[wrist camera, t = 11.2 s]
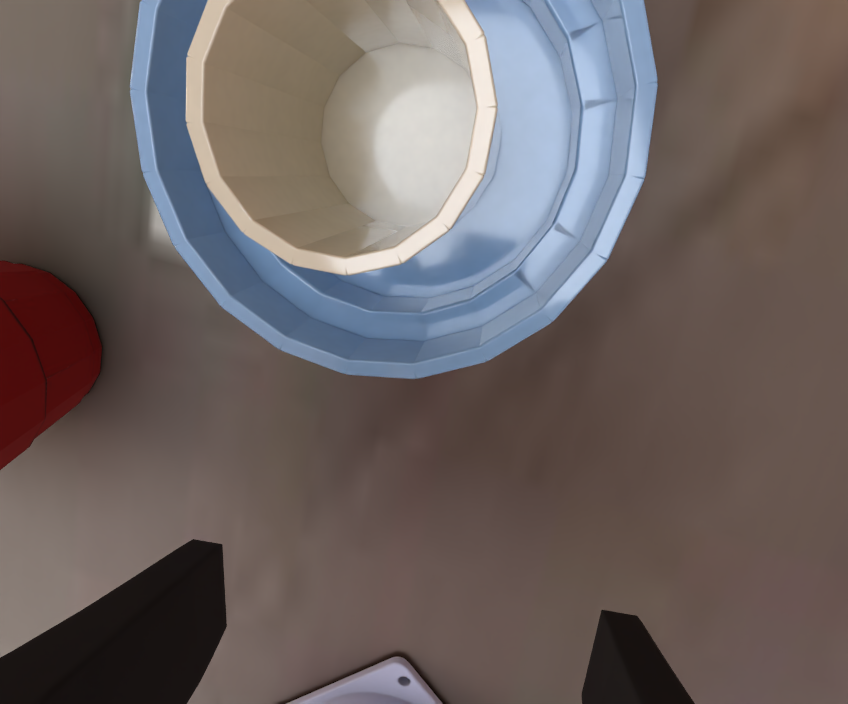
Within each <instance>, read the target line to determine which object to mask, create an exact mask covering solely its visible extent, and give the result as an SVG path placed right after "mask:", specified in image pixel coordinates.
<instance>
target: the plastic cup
mask: <svg viewBox="0 0 848 704" xmlns="http://www.w3.org/2000/svg"><path fill="white" fill-rule="evenodd" d="M101 351H102V345H101V342H100V339H99V336H98V332H97V329H96V326H95V323H94V319H93V317H92V316H91V314H90V313H89V312H88V310H87V309H86V307H85V306H84V304H83V303H82V302H81V300H80V299H79V297H78V296H77V294H76V293H75V292H74V291H73V290H71V289H70V288H69V287H68V286H66V285H65V284H64V283H62V282H61V281H60V280H58V279H57V278H56V277H55V276H53V275H52V274H51V273H49V272H46V271H43V270H40V269H37V268H34V267H30V266H27V265H24V264H13V263H10V262H7V261H0V470H1V469H2V468H3V467H5V466H6V465H7V464H8V463H10V462H11V461H12V460H13V459H15V458H16V457H17V456H18V455H20V454H21V453H22V452H23V451H25V450H26V449H27V448H28V447H30V446H31V444H32V442H33V440H34V439H35V438H36V437H37V436H39V435H40V434H41V433H42V432H44V431H45V430H46V429H47V428H49V427H50V426H51V425H52V424H54V423H55V422H56V421H57V420H59V419H60V418H61V417H63V416H64V415H65V414H66V413H68V412H69V411H70V410H71V409H73V408H74V407H75V406H76V405H78V404H79V403H80V401H81V399H82V398H83V396H84V395H86V394H87V393H88V392H89V390H90V389H91V387H92V385H93V384H94V382H95V380H96V378H97V377H98V375H99V373H100V365H101Z"/></svg>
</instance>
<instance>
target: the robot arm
mask: <svg viewBox="0 0 848 704" xmlns="http://www.w3.org/2000/svg"><path fill="white" fill-rule="evenodd" d="M226 627H227V624H226V605H225V587H224V568H223V549H222V544H217V543H212V542H206V541H200V540H194V539H193V540H191V541H189V542H188V543H186V544H184V545H183V546H181V547H180V548H178V549H176V550H175V551H173V552H172V553H170V554H169V555H167V556H166V557H164V558H162V559H161V560H159V561H158V562H156V563H155V564H153V565H152V566H150V567H149V568H147V569H146V570H144V571H142V572H141V573H139V574H138V575H136V576H135V577H133V578H132V579H130V580H129V581H127V582H125V583H124V584H122V585H121V586H119V587H118V588H116V589H114V590H113V591H111V592H110V593H108V594H107V595H105V596H103V597H102V598H100V599H99V600H97V601H96V602H94V603H92V604H91V605H89V606H88V607H86V608H85V609H83V610H81V611H80V612H78V613H76V614H75V615H73V616H71V617H70V618H68V619H66V620H64V621H63V622H61V623H59V624H58V625H56V626H54V627H53V628H51V629H49V630H47V631H46V632H44V633H42V634H41V635H39V636H37V637H36V638H34V639H32V640H30V641H29V642H27V643H25V644H24V645H22V646H20V647H19V648H17V649H15V650H13V651H12V652H10V653H8V654H6V655H4V656H3V657H1V658H0V704H187V702H188V701H189V699H190V697H191V696H192V694H193V692H194V691H195V689H196V687H197V686H198V684H199V682H200V681H201V679H202V677H203V675H204V673H205V671H206V669H207V667H208V665H209V663H210V661H211V659H212V657H213V655H214V652H215V650H216V648H217V646H218V644H219V642H220V640H221V637H222V635H223V633H224V631H225V629H226ZM403 676H404V677H403ZM405 677H407V678H405ZM286 704H443V703H442V702H441V701H440V700H439V698H438V697H437V696H436V695H435V694H434V692H433V691H432V690H431V689H430V687H429V686H428V685H427V684H426V683H425V681H424V680H423V679H422V678H421V677H420V675H419V674H418V673H417V672H416V671H415V669H414V668H413V667H412V666H411V665H410V663H409V662H408V661H407V660H406V659H404V658H402V657H392V658H390V659H387V660H385V661H383V662H381V663H378V664H376V665H374V666H371V667H369V668H367V669H365V670H362V671H360V672H358V673H355V674H353V675H351V676H348V677H346V678H344V679H342V680H339V681H337V682H335V683H332V684H330V685H328V686H325V687H323V688H321V689H319V690H316V691H314V692H312V693H309V694H307V695H305V696H302V697H300V698H298V699H296V700H293V701H291V702H289V703H286ZM582 704H695V703H694V702H693V700H692V699H691V697H690V696H689V695H688V693H687V692H686V690H685V688H684V687H683V685H682V684H681V682H680V681H679V679H678V678H677V676H676V675H675V673H674V672H673V670H672V669H671V667H670V666H669V664H668V663H667V661H666V659H665V658H664V656H663V655H662V653H661V652H660V650H659V648H658V647H657V645H656V644H655V642H654V641H653V639H652V637H651V636H650V634H649V633H648V631H647V630H646V628H645V626H644V625H643V623H642V622H641V621H640V619H639V618H638V617H637V616H635V615H629V614H623V613H617V612H612V611H606V610H602V611H601V615H600V619H599V623H598V628H597V632H596V636H595V640H594V644H593V649H592V653H591V657H590V661H589V665H588V670H587V674H586V678H585V682H584V686H583V691H582Z"/></svg>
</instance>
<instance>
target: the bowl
mask: <svg viewBox="0 0 848 704" xmlns="http://www.w3.org/2000/svg"><path fill="white" fill-rule="evenodd" d="M207 1H208V0H142V1H140V5H139V14H138V22H137V30H136V39H135V47H134V56H133V64H132V72H131V81H130V88H131V90H130V95H131V102H132V109H133V115H134V122H135V129H136V135H137V142H138V149H139V155H140V162H141V169H142V172H143V176H144V178H145V181H146V183H147V185H148V188H149V190H150V192H151V195H152V197H153V199H154V202H155V204H156V206H157V209H158V211H159V213H160V216H161V218H162V220H163V223H164V225H165V227H166V230H167V232H168V234H169V237H170V239H171V241H172V244H173V245H174V246H175V249H176V250H177V251H178V253H179V254H180V255H181V257H182V258H183V259H184V260H185V262H186V263H187V264H188V265H189V267H190V268H191V269H192V271H193V272H194V273H195V274H196V276H197V277H198V278H199V279H200V281H201V282H202V283H203V285H204V286H205V287H206V288H207V290H208V291H209V292H210V293H211V295H212V296H213V297H214V299H215V300H216V301H217V302H218V304H219V305H220V306H222V308H223V309H225V310H226V311H227V312H229V313H230V314H231V315H233V316H234V317H236V318H237V319H238V320H240V321H241V322H242V323H244V324H245V325H246V326H248V327H249V328H250V329H252V330H253V331H254V332H256V333H257V334H258V335H260V336H261V337H263V338H264V339H265V340H267V341H268V342H269V343H271V344H272V345H273V346H275V347H276V348H277V349H280V350H281V351H283V352H286V353H289V354H292V355H294V356H297V357H300V358H302V359H305V360H308V361H310V362H313V363H316V364H318V365H321V366H324V367H326V368H329V369H332V370H334V371H337V372H340V373H343V374H347V375H358V376H374V377H390V378H406V379H416V378H417V379H419V378H423V377H427V376H431V375H436V374H440V373H444V372H448V371H452V370H456V369H460V368H464V367H468V366H473V365H477V364H481V363H485V362H486V361H489V360H491V359H493V358H494V357H496V356H498V355H499V354H501V353H503V352H504V351H506V350H508V349H509V348H511V347H513V346H514V345H516V344H518V343H519V342H521V341H523V340H524V339H526V338H528V337H529V336H531V335H533V334H534V333H536V332H537V331H539V330H541V329H542V328H544V327H546V326H547V325H549V324H551V322H553V321H554V320H555V319H556V318H557V317H558V316H559V315H560V314H561V312H562V311H563V310H564V309H565V308H566V307H567V306H568V305H569V303H570V302H571V301H572V300H573V299H574V298H575V297H576V296H577V295H578V293H579V292H580V291H581V290H582V289H583V288H584V287H585V286H586V284H587V283H588V282H589V281H590V280H591V279H592V278H593V277H594V275H595V274H596V273H597V272H598V271H599V270H600V269H601V268H602V266H603V265H604V264H605V263H606V261H607V259H608V258H609V257H610V254H611V252H612V250H613V248H614V246H615V244H616V241H617V239H618V237H619V235H620V233H621V231H622V228H623V226H624V224H625V222H626V220H627V217H628V215H629V213H630V211H631V209H632V207H633V204H634V202H635V200H636V198H637V196H638V193H639V191H640V189H641V187H642V185H643V183H644V178H645V176H646V170H647V163H648V156H649V148H650V141H651V133H652V126H653V118H654V111H655V103H656V96H657V88H658V83H656V82H657V81H658V78H657V72H656V66H655V60H654V55H653V49H652V43H651V37H650V32H649V26H648V20H647V14H646V9H645V3H644V0H465V2H466V3H467V5H468V6H469V8H470V10H471V11H472V13H473V15H474V16H475V18H476V19H477V21H478V23H479V24H480V26H481V28H482V29H483V31H484V34H485V36H486V39H487V45H488V51H489V56H490V62H491V68H492V74H493V79H494V85H495V91H496V97H497V102H498V110H499V117H500V125H501V132H502V134H501V136H502V137H501V142H500V147H499V153H498V158H497V162H496V167H495V172H494V175H493V178H492V179H491V181H490V182H489V184H488V186H487V187H486V189H485V191H484V192H483V194H482V195H481V197H480V198H479V200H478V201H477V203H476V204H475V206H474V208H473V209H472V210H471V211H470V212H469V213H468V214H467V215H465V216H464V217H463V218H462V219H461V220H460V221H459V222H458V223H457V224H456V225H455V226H454V227H453V228H452V229H451V230H450V231H449V232H447V233H446V234H445V235H443V236H442V237H440V238H439V239H438V240H436V241H435V242H433V243H432V244H430V245H429V246H428V247H426V248H425V249H423V250H422V251H421V252H419V253H418V254H416V255H415V256H414V257H412V258H411V259H409V260H408V261H407V262H405V263H403V264H401V265H397V266H393V267H388V268H383V269H379V270H374V271H369V272H365V273H360V274H355V275H350V276H348V275H346V276H344V275H339V274H334V273H328V272H323V271H318V270H313V269H308V268H303V267H298V266H294V265H293V264H289V263H288V262H286V261H285V260H283V259H282V258H280V257H278V256H277V255H275V254H274V253H272V252H271V251H269V250H268V249H266V248H265V247H263V246H261V245H260V244H258V243H257V242H255V241H254V240H252V239H251V238H249V237H248V236H246V235H245V234H244V233H243V232H241V230H240V229H239V228H238V226H237V225H236V224H235V222H234V221H233V220H232V218H231V217H230V216H229V214H228V213H227V212H226V210H225V209H224V208H223V206H222V205H221V204H220V202H219V201H218V200H217V199H216V197H215V196H214V195H213V193H212V192H211V191H210V189H209V188H208V187H207V184H206V183H205V180H204V177H203V174H202V171H201V168H200V165H199V162H198V159H197V156H196V153H195V150H194V147H193V144H192V141H191V138H190V135H189V132H188V129H187V125H186V124H187V122H186V58H187V57H188V55H187V53H188V50H189V48H190V45H191V43H192V40H193V37H194V35H195V32H196V30H197V27H198V24H199V22H200V19H201V17H202V14H203V11H204V9H205V6H206V4H207Z"/></svg>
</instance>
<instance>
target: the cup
mask: <svg viewBox="0 0 848 704" xmlns="http://www.w3.org/2000/svg"><path fill="white" fill-rule="evenodd" d="M187 55H188V57H187V58H186V122H187V124H186V125H187V129H188V132H189V135H190V138H191V141H192V144H193V147H194V150H195V153H196V156H197V159H198V162H199V165H200V168H201V171H202V174H203V177H204V180H205V183H206V184H207V187H208V188H209V189H210V191H211V192H212V193H213V195H214V196H215V197H216V199H217V200H218V201H219V202H220V204H221V205H222V206H223V208H224V209H225V210H226V212H227V213H228V214H229V216H230V217H231V218H232V220H233V221H234V222H235V224H236V225H237V226H238V228H239V229H240V230H241V232H243V233H244V234H245V235H246V236H248V237H249V238H251V239H252V240H254V241H255V242H257V243H258V244H260V245H261V246H263V247H265V248H266V249H268V250H269V251H271V252H272V253H274V254H275V255H277V256H278V257H280V258H282V259H283V260H285V261H286V262H288V263H289V264H293V265H294V266H298V267H303V268H308V269H313V270H318V271H323V272H328V273H334V274H339V275H344V276H346V275H348V276H350V275H355V274H360V273H365V272H369V271H374V270H379V269H383V268H388V267H393V266H397V265H401V264H403V263H405V262H407V261H408V260H409V259H411V258H412V257H414V256H415V255H416V254H418V253H419V252H421V251H422V250H423V249H425V248H426V247H428V246H429V245H430V244H432V243H433V242H435V241H436V240H438V239H439V238H440V237H442V236H443V235H445V234H446V233H447V232H449V231H450V230H451V229H452V228H453V227H454V226H455V225H456V224H457V223H458V222H459V221H460V220H461V219H462V218H463V217H464V216H465V215H467V214H468V213H469V212H470V211H471V210H472V209H473V208H474V206H475V204H476V203H477V201H478V200H479V198H480V197H481V195H482V194H483V192H484V191H485V189H486V187H487V186H488V184H489V182H490V181H491V179H492V178H493V175H494V172H495V167H496V162H497V158H498V153H499V147H500V142H501V137H502V136H501V134H502V132H501V125H500V117H499V110H498V102H497V97H496V91H495V85H494V79H493V74H492V68H491V62H490V56H489V51H488V45H487V39H486V36H485V34H484V31H483V29H482V28H481V26H480V24H479V23H478V21H477V19H476V18H475V16H474V15H473V13H472V11H471V10H470V8H469V6H468V5H467V3H466V2H465V0H208V1H207V4H206V6H205V9H204V11H203V14H202V17H201V19H200V22H199V24H198V27H197V30H196V32H195V35H194V37H193V40H192V43H191V45H190V48H189V50H188V53H187Z"/></svg>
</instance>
